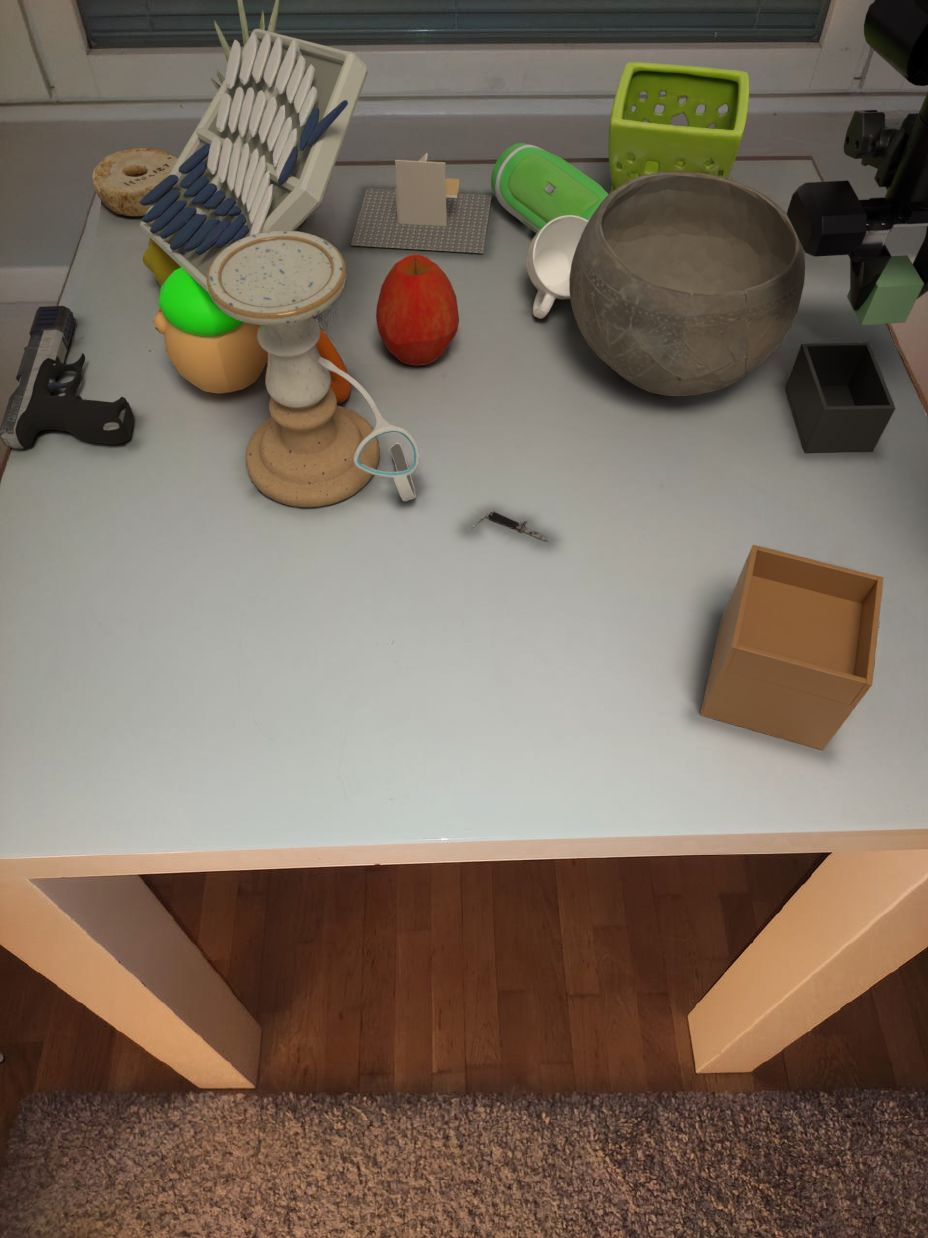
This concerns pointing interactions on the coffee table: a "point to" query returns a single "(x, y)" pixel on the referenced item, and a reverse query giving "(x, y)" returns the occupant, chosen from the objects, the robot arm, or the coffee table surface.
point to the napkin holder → (423, 212)
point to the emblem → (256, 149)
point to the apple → (417, 311)
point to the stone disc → (130, 178)
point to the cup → (553, 260)
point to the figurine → (206, 338)
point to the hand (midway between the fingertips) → (877, 305)
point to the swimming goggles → (403, 471)
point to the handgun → (37, 380)
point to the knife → (512, 524)
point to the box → (794, 647)
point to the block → (891, 294)
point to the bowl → (686, 281)
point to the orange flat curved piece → (330, 353)
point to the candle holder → (294, 366)
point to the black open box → (838, 397)
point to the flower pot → (670, 145)
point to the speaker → (542, 186)
